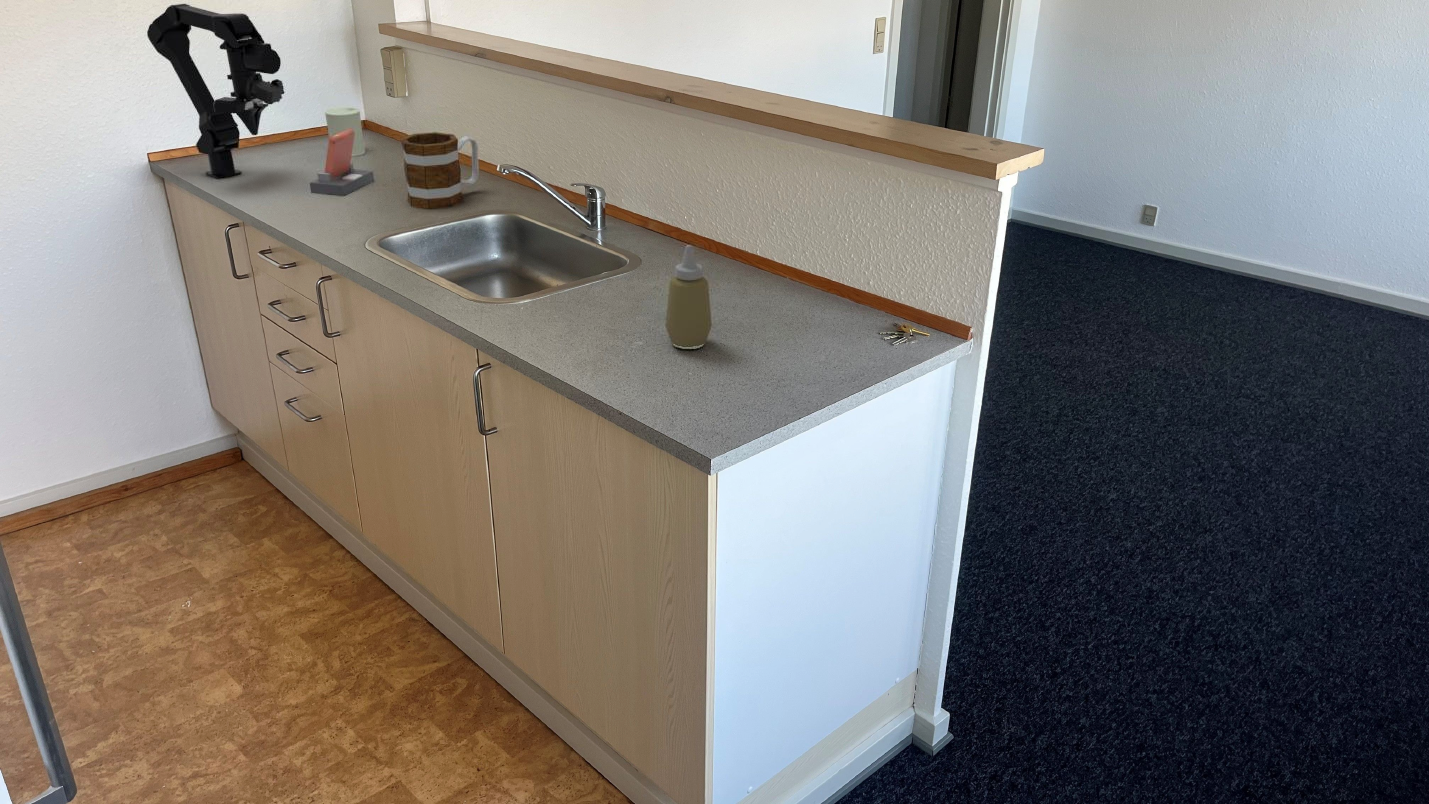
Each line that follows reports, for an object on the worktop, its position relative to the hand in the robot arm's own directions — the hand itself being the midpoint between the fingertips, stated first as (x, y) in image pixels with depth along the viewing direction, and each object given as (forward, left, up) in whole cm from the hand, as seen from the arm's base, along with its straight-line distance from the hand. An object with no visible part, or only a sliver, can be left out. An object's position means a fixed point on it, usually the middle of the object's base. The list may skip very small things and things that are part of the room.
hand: (254, 134), depth 261 cm
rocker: (+16, +11, -10) cm, 22 cm away
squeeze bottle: (+144, -2, -12) cm, 144 cm away
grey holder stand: (+17, +12, -12) cm, 24 cm away
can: (-10, +31, -12) cm, 35 cm away
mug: (+44, +23, -12) cm, 51 cm away
